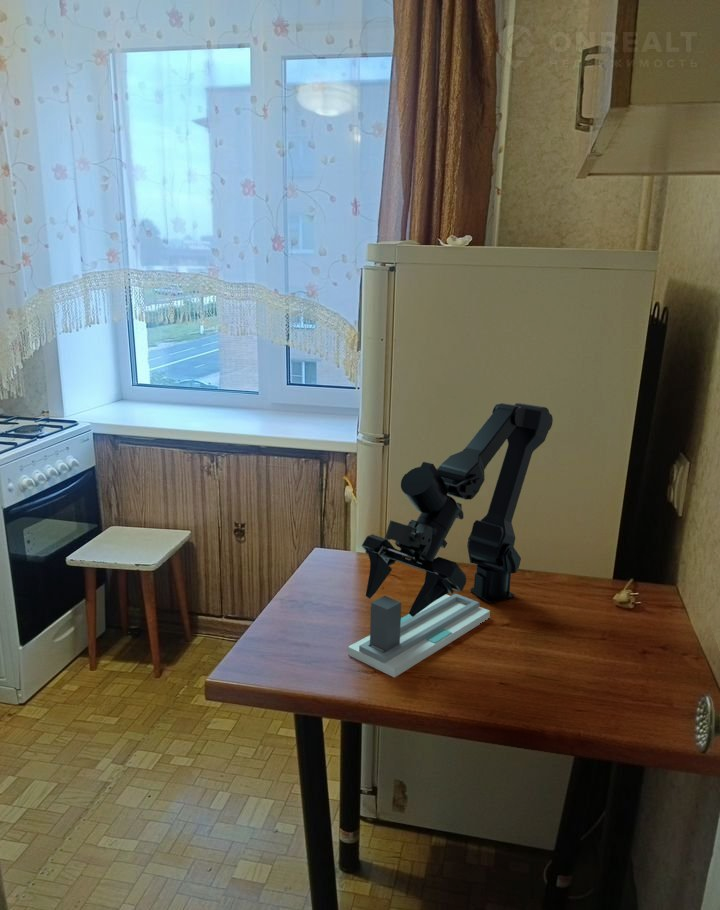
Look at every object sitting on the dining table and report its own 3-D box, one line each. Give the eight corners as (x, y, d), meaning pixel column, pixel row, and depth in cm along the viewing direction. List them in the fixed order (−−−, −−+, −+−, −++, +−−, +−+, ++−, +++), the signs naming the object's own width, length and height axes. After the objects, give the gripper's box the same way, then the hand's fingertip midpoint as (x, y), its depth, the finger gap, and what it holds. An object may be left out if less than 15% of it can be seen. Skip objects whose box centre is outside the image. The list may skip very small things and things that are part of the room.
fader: (384, 640, 123) (385, 595, 121) (400, 648, 121) (402, 601, 119) (368, 649, 120) (370, 602, 118) (384, 657, 118) (386, 609, 116)
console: (445, 601, 142) (446, 589, 141) (489, 618, 135) (490, 605, 135) (347, 654, 121) (348, 641, 121) (394, 677, 115) (394, 663, 114)
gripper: (370, 489, 125) (324, 567, 119) (461, 515, 113) (414, 603, 107) (397, 522, 132) (355, 596, 127) (485, 549, 120) (442, 633, 115)
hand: (388, 606), depth 119 cm, fingers open, 9 cm apart
